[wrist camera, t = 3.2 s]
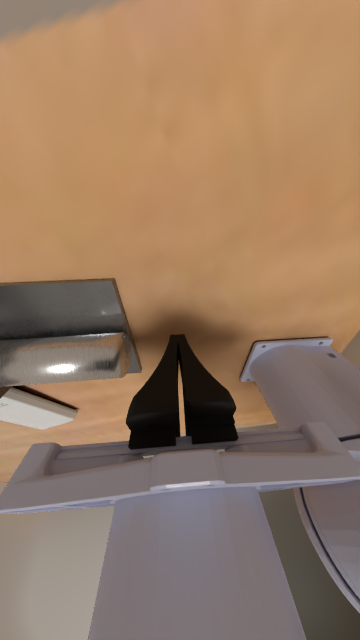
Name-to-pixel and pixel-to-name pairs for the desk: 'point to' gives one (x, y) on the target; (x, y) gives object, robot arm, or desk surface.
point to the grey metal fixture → (63, 312)
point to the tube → (64, 359)
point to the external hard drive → (33, 410)
